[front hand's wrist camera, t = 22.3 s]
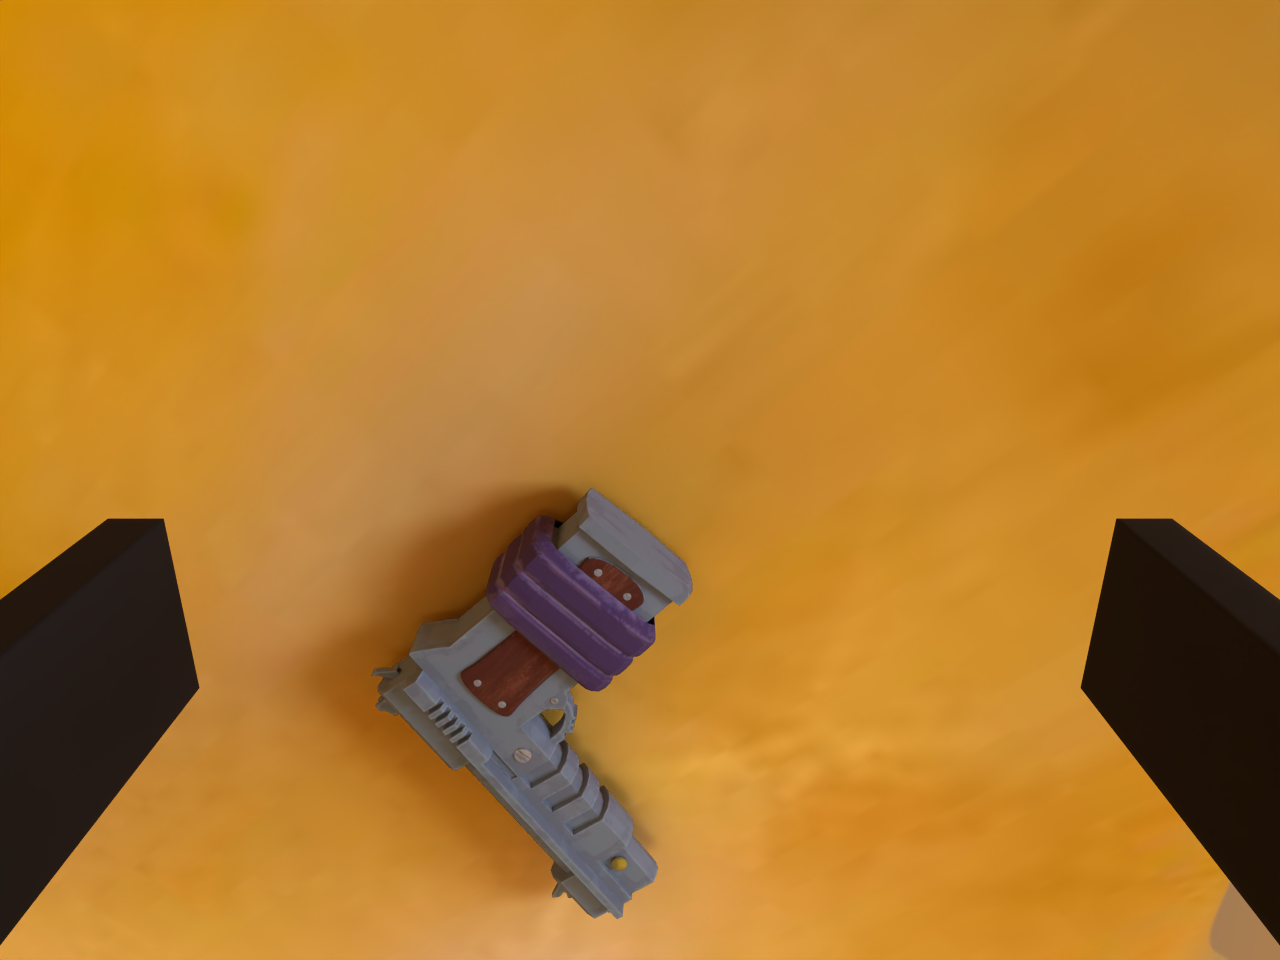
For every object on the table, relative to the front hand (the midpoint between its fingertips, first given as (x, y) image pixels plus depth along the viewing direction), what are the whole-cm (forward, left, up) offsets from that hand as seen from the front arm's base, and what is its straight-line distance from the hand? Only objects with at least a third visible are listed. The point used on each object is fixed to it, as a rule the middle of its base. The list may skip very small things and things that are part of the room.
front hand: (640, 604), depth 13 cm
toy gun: (-14, -13, -25) cm, 31 cm away
